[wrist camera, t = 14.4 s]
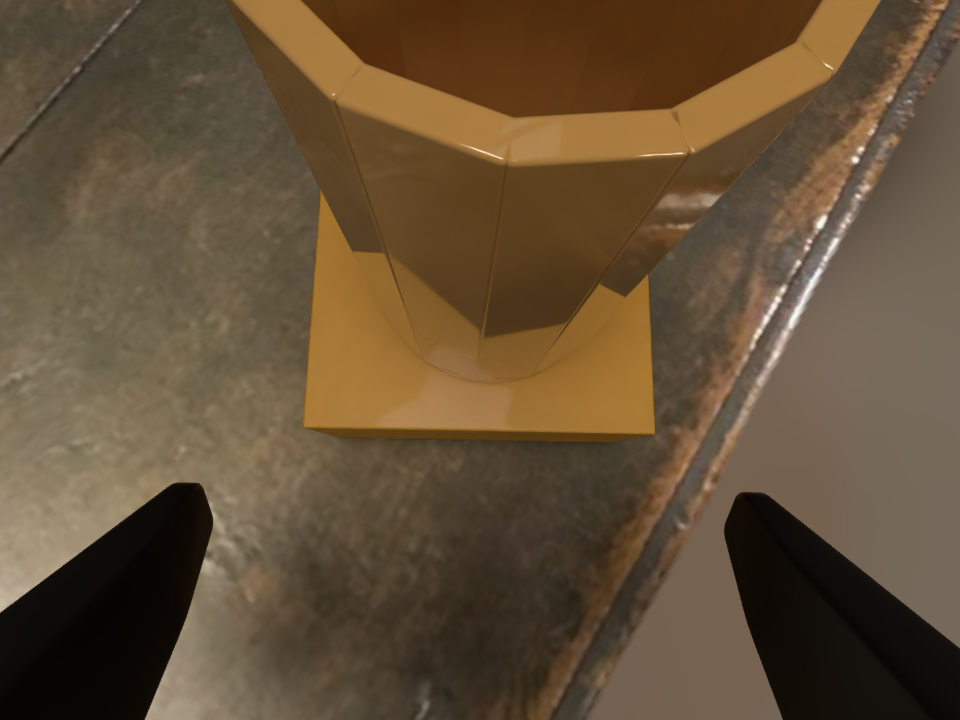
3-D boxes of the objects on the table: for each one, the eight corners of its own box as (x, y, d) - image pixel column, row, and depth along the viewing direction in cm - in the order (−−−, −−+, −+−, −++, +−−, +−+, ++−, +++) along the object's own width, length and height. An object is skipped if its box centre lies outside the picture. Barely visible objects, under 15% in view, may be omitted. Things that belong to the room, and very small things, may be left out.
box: (613, 442, 23) (656, 434, 18) (336, 437, 22) (301, 427, 17) (606, 188, 25) (642, 118, 20) (353, 180, 24) (326, 108, 20)
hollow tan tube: (562, 418, 18) (821, 280, 5) (339, 332, 18) (39, -6, 5) (634, 213, 19) (981, -304, 6) (426, 137, 19) (358, -503, 7)
